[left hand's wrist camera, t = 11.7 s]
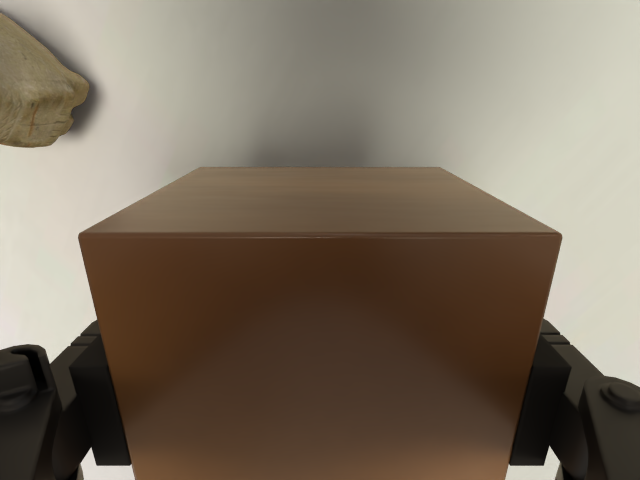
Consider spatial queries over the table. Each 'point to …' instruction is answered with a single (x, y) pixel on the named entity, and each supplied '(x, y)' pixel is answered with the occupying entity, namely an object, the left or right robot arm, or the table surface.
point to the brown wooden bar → (320, 323)
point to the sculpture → (34, 90)
